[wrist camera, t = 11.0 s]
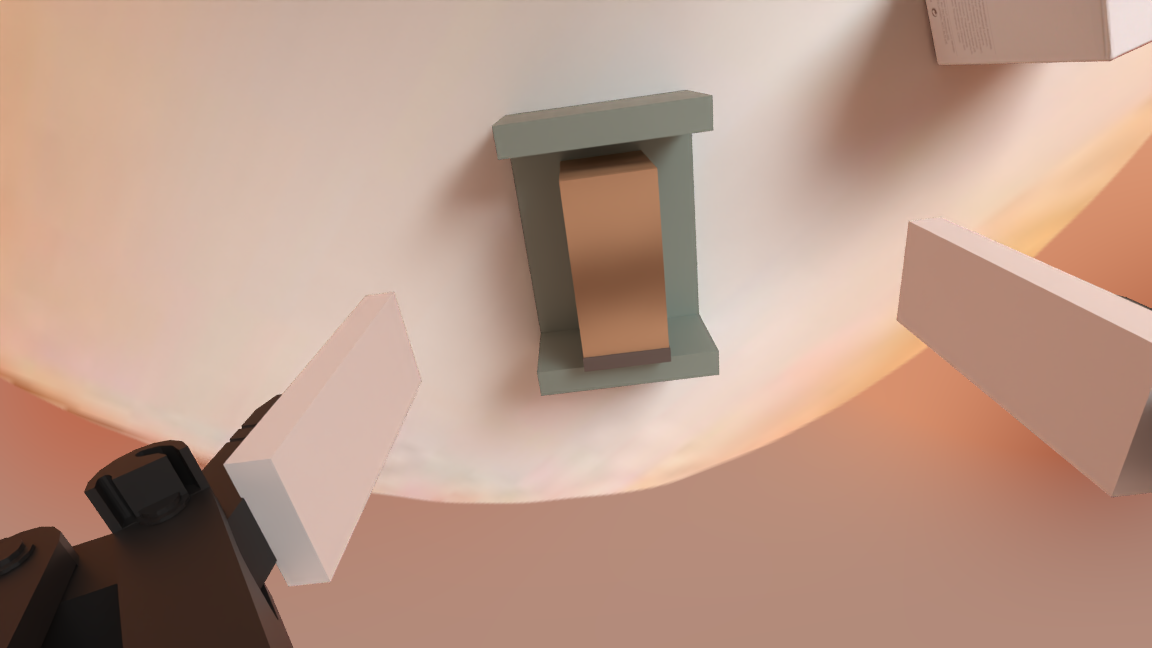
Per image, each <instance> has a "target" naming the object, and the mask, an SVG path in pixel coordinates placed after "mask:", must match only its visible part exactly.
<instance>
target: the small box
mask: <svg viewBox="0 0 1152 648" xmlns="http://www.w3.org/2000/svg"><path fill="white" fill-rule="evenodd" d="M925 1H926V5H927V10H928V15H929V20H930V25H931V31H932V36H933V41H934V47H935V52H936V57H937V62H938V64H939V65H966V64H1006V63H1007V64H1009V63H1052V62H1092V61H1111V60H1113V59H1115V58H1117V57H1120V56H1122V55H1124V54H1126V53H1128V52H1130V51H1133V50H1135V49H1137V48H1139V47H1142V46H1144V45H1146V44H1148V43H1150V42H1152V0H925Z"/></svg>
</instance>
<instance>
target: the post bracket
mask: <svg viewBox="0 0 1152 648" xmlns="http://www.w3.org/2000/svg"><path fill="white" fill-rule="evenodd" d="M492 129H493V134H494V140H495V145H496V151H497V156H498V160H501V159H508V158H511V164H512V170H513V176H514V181H515V187H516V193H517V199H518V204H519V210H520V216H521V222H522V227H523V233H524V239H525V245H526V250H527V256H528V262H529V268H530V273H531V279H532V285H533V291H534V296H535V302H536V308H537V314H538V319H539V325H540V331H541V338H540V348H539V359H538V369H537V375H538V380H539V386H540V391H541V396H544V395H552V394H561V393H569V392H578V391H586V390H594V389H603V388H611V387H620V386H628V385H636V384H645V383H653V382H661V381H670V380H678V379H687V378H695V377H703V376H712V375H719V351H718V349H717V347H716V345H715V343H714V341H713V339H712V338H711V336H710V334H709V332H708V330H707V328H706V326H705V324H704V323H703V321H702V319H701V317H700V315H699V305H698V280H697V255H696V230H695V205H694V180H693V155H692V133H698V132H705V131H713V99H712V95H708V94H703V93H698V92H693V91H688V90H684V91H676V92H669V93H662V94H655V95H648V96H641V97H634V98H627V99H619V100H612V101H605V102H598V103H591V104H584V105H577V106H569V107H562V108H555V109H548V110H541V111H534V112H527V113H519V114H512V115H505V116H504V117H503V118H501V119H500V120H499V121H498V122H496V123H495V124H494V125H493V126H492ZM640 150H641V151H642V152H643V153H644V154H645V155H646V156H647V157H648V158H649V160H650V161H651V162H652V163H653V164H654V165H655V166H656V167H657V171H658V186H659V201H660V216H661V231H662V246H663V262H664V277H665V292H666V307H667V322H668V337H669V346H670V349H671V362H664V363H656V364H647V365H639V366H631V367H622V368H614V369H606V370H597V371H589V372H585V371H584V364H583V354H582V342H581V335H580V328H579V321H578V314H577V307H576V300H575V293H574V285H573V278H572V271H571V264H570V257H569V250H568V243H567V235H566V228H565V221H564V214H563V207H562V200H561V193H560V185H559V174H560V161H566V160H573V159H581V158H588V157H595V156H603V155H610V154H617V153H625V152H632V151H640Z"/></svg>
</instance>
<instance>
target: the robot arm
mask: <svg viewBox="0 0 1152 648" xmlns="http://www.w3.org/2000/svg"><path fill="white" fill-rule="evenodd" d="M897 321H898V322H899V323H900V324H902V325H903V326H904V327H905V328H907V329H908V330H909V331H910V332H911V333H913V334H914V335H915V336H916V337H917V338H919V339H920V340H921V341H922V342H924V343H925V344H926V345H927V346H928V347H930V348H931V349H932V350H933V351H934V352H936V353H937V354H938V355H939V356H941V357H942V358H943V359H944V360H946V361H947V362H948V363H949V364H950V365H952V366H953V367H954V368H955V369H956V370H958V371H959V372H960V373H961V374H962V375H964V376H965V377H966V378H967V379H968V380H970V381H971V382H972V383H973V384H975V385H976V386H977V387H978V388H979V389H981V390H982V391H983V392H984V393H985V394H987V395H988V396H989V397H990V398H992V399H993V400H994V401H995V402H997V403H998V404H999V405H1000V406H1001V407H1002V408H1004V409H1005V410H1006V411H1007V412H1009V413H1010V414H1011V415H1012V416H1013V417H1015V418H1016V419H1017V420H1019V421H1020V422H1021V423H1022V424H1023V425H1025V426H1026V427H1027V428H1028V429H1029V430H1030V431H1032V432H1033V433H1034V434H1035V435H1036V436H1038V437H1039V438H1040V439H1041V440H1043V441H1044V442H1045V443H1046V444H1047V445H1049V446H1050V447H1051V448H1052V449H1054V450H1055V451H1056V452H1057V453H1058V454H1060V455H1061V456H1062V457H1063V458H1064V459H1066V460H1067V461H1068V462H1069V463H1070V464H1072V465H1073V466H1074V467H1075V468H1077V469H1078V470H1079V471H1080V472H1082V473H1083V474H1084V475H1085V476H1086V477H1088V478H1089V479H1090V480H1091V481H1092V482H1094V483H1095V484H1096V485H1097V486H1098V487H1100V488H1101V489H1102V490H1103V491H1104V492H1106V493H1107V494H1108V495H1109V496H1111V497H1118V496H1128V495H1136V494H1146V493H1152V309H1151V308H1149V307H1147V306H1145V305H1142V304H1140V303H1138V302H1136V301H1133V300H1131V299H1129V298H1127V297H1123V296H1119V295H1115V294H1113V293H1111V292H1108V291H1106V290H1104V289H1102V288H1099V287H1097V286H1095V285H1093V284H1090V283H1088V282H1086V281H1084V280H1081V279H1079V278H1077V277H1075V276H1072V275H1070V274H1068V273H1066V272H1063V271H1061V270H1059V269H1057V268H1054V267H1052V266H1050V265H1048V264H1046V263H1043V262H1041V261H1039V260H1036V259H1034V258H1032V257H1030V256H1028V255H1025V254H1023V253H1021V252H1019V251H1016V250H1014V249H1012V248H1010V247H1007V246H1005V245H1003V244H1001V243H998V242H996V241H994V240H992V239H989V238H987V237H985V236H983V235H980V234H978V233H976V232H974V231H971V230H969V229H967V228H965V227H962V226H960V225H958V224H956V223H953V222H951V221H949V220H947V219H944V218H942V217H935V218H928V219H920V220H913V221H909V223H908V231H907V240H906V248H905V256H904V264H903V272H902V280H901V289H900V297H899V305H898V313H897ZM421 382H422V380H421V377H420V373H419V370H418V367H417V364H416V361H415V357H414V354H413V351H412V348H411V344H410V341H409V338H408V335H407V332H406V328H405V325H404V322H403V319H402V315H401V312H400V309H399V306H398V303H397V299H396V296H395V293H394V292H389V293H382V294H374V295H367V296H365V297H364V298H363V299H362V301H361V302H360V303H359V304H358V305H357V307H356V308H355V309H354V310H353V311H352V313H351V314H350V315H349V316H348V317H347V318H346V320H345V321H344V322H343V323H342V324H341V326H340V327H339V328H338V329H337V330H336V331H335V333H334V334H333V335H332V336H331V337H330V339H329V340H328V341H327V342H326V343H325V344H324V346H323V347H322V348H321V349H320V350H319V352H318V353H317V354H316V355H315V356H314V358H313V359H312V360H311V361H310V362H309V363H308V365H307V366H306V367H305V368H304V369H303V371H302V372H301V373H300V374H299V375H298V376H297V378H296V379H295V380H294V381H293V382H292V384H291V385H290V386H289V387H288V388H287V389H286V391H285V392H284V393H283V394H280V395H276V396H275V397H273V398H272V399H271V400H269V401H268V402H266V403H265V404H263V405H262V406H261V407H259V408H258V409H256V410H255V411H254V412H253V414H252V415H251V416H250V417H249V418H248V419H247V420H246V421H245V423H244V424H243V425H242V429H238V431H237V432H236V433H235V434H234V435H233V436H232V437H231V438H230V442H228V443H226V444H225V445H224V446H223V448H222V449H221V450H220V451H219V452H218V453H217V454H216V455H215V457H214V458H213V459H212V460H211V461H210V462H209V463H208V465H207V466H206V467H205V468H204V469H203V470H202V471H201V469H200V467H199V465H198V464H197V462H196V460H195V458H194V456H193V455H192V453H191V451H190V449H189V447H188V446H187V445H186V444H185V443H184V442H182V441H174V440H168V441H163V442H158V443H153V444H150V445H147V446H145V447H142V448H139V449H136V450H134V451H132V452H130V453H128V454H126V455H124V456H122V457H120V458H118V459H116V460H115V461H113V462H112V463H110V464H109V465H107V466H106V467H104V468H103V469H101V470H100V471H99V472H98V473H97V474H96V475H95V476H94V477H93V478H92V479H91V480H90V481H89V482H88V484H87V486H86V489H85V494H86V495H87V497H88V498H89V500H90V501H91V503H92V504H93V505H94V507H95V508H96V510H97V511H98V512H99V514H100V516H101V517H102V519H103V520H104V521H105V523H106V524H107V526H108V527H109V529H110V530H111V531H112V533H113V534H110V535H107V536H104V537H101V538H97V539H94V540H91V541H88V542H85V543H82V544H79V545H76V546H73V547H72V546H71V545H70V543H69V542H68V541H67V539H66V538H65V537H64V535H63V534H62V533H61V531H59V530H58V529H56V528H55V527H38V528H34V529H31V530H27V531H23V532H21V533H18V534H16V535H14V536H12V537H9V538H4V539H2V540H0V648H293V646H292V643H291V641H290V639H289V636H288V634H287V632H286V629H285V627H284V624H283V622H282V619H281V617H280V615H279V612H278V610H277V607H276V605H275V603H274V600H273V598H272V596H271V594H270V592H269V590H268V589H267V587H266V585H265V583H264V582H265V581H266V579H267V577H268V575H269V574H270V572H271V570H272V569H273V567H274V565H275V563H276V564H277V566H278V568H279V570H280V572H281V573H282V575H283V577H284V579H285V581H286V582H287V585H288V586H298V585H307V584H316V583H326V582H331V580H332V577H333V575H334V573H335V571H336V568H337V567H338V564H339V562H340V560H341V558H342V556H343V553H344V551H345V549H346V547H347V545H348V542H349V540H350V538H351V536H352V534H353V531H354V529H355V527H356V525H357V523H358V520H359V518H360V516H361V514H362V512H363V509H364V507H365V505H366V503H367V501H368V498H369V496H370V494H371V492H372V490H373V487H374V485H375V483H376V481H377V479H378V476H379V474H380V472H381V470H382V468H383V465H384V463H385V461H386V459H387V457H388V454H389V452H390V450H391V448H392V446H393V443H394V441H395V439H396V437H397V435H398V432H399V430H400V428H401V426H402V424H403V421H404V419H405V417H406V415H407V413H408V410H409V408H410V406H411V404H412V402H413V399H414V397H415V395H416V393H417V391H418V388H419V386H420V384H421Z"/></svg>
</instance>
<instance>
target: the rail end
mask: <svg viewBox="0 0 1152 648" xmlns="http://www.w3.org/2000/svg"><path fill="white" fill-rule="evenodd" d="M559 185H560V193H561V200H562V207H563V214H564V221H565V228H566V235H567V243H568V250H569V257H570V264H571V271H572V278H573V285H574V293H575V300H576V307H577V314H578V321H579V328H580V335H581V342H582V354H583V364H584V371H585V372H589V371H597V370H606V369H614V368H622V367H631V366H639V365H647V364H656V363H664V362H671V349H670V346H669V337H668V322H667V307H666V292H665V277H664V262H663V246H662V231H661V216H660V201H659V186H658V171H657V167H656V166H655V165H654V164H653V163H652V162H651V161H650V160H649V158H648V157H647V156H646V155H645V154H644V153H643V152H642V151H641V150H640V151H632V152H625V153H617V154H610V155H603V156H595V157H588V158H581V159H573V160H566V161H560V174H559Z"/></svg>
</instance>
